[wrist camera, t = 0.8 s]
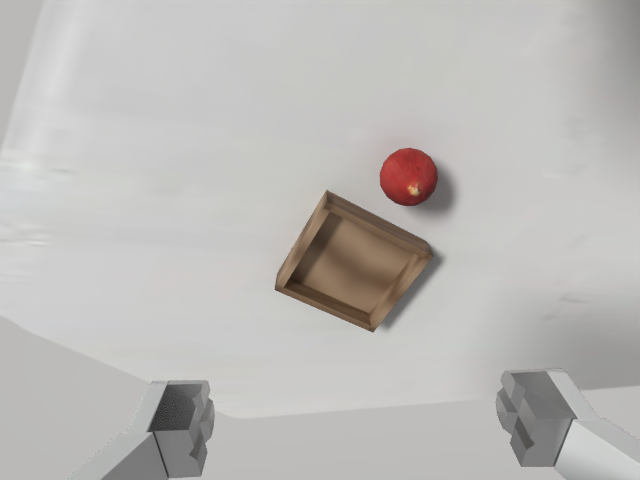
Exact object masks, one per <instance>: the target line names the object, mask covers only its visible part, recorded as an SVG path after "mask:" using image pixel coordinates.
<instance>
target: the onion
mask: <svg viewBox="0 0 640 480" xmlns="http://www.w3.org/2000/svg"><path fill="white" fill-rule="evenodd" d="M437 180H438V176H437V168H436V166H435V164H434V163H433V161H432V159H431V158H430V157H429V156H428V155H427V154H425V153H424V152H422V151H420V150H417V149H413V148H406V149H399V150H398V151H396V152H394V153H393V154H391V155H390V156H389V157H388V158H387V160H386V161H385V162H384V163H383V166H382V169H381V172H380V186H381V188H382V189H383V191H384V193H385V194H386V196H387V197H388V198H389V199H391V200H392V201H393V202H395V203H397V204H400V205H404V206H413V205H418V204H420V203H422V202H424V201H425V200H427V199H428V198H429V197H430V195H431V194H432V193H433V192H434V190H435V187H436V183H437Z"/></svg>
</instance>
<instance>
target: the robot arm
mask: <svg viewBox="0 0 640 480" xmlns="http://www.w3.org/2000/svg"><path fill="white" fill-rule="evenodd" d="M501 383H502V385H503V388H502V389H501V390H500V391H499V392H498V393H497V398H496V409H497V414H498V418H499V421H500V423H501V425H502V427H503V429H505V430H506V431H507V432H508V433H510V434H511V435H512V438H511V442H510V444H511V446H512V449H513V451H514V453H515V455H516V457H517V459H518V461H519V463H520V465H521V467H554V468H555V470H556V471H557V472H559V473H560V474H561V475H562V476H563V477H564V478H565V479H566V480H640V440H639V439H638V438H636V437H634V436H633V435H631V434H629V433H628V432H626V431H625V430H623V429H622V428H620V427H618V426H617V425H615V424H614V423H612V422H611V421H609V420H607V419H606V418H604V419H603V418H602V419H601V418H599V417H598V415H597V414H596V412H595V411H594V410H593V408H592V407H591V406H590V404H589V403H588V402H587V400H586V399H585V398H584V396H583V395H582V393H581V392H580V391H579V389H578V388H577V387H576V385H575V384H574V383H573V381H572V380H571V379H570V377H569V376H568V375H567V373H566V372H565V371H564V370H562V369H542V370H540V369H535V370H511V371H505V372H504V373H503V374H502V377H501ZM209 393H210V387H209V383H208V381H206V380H182V381H152V382H151V383H150V384H149V385H148V386H147V388H146V391H145V393H144V395H143V397H142V399H141V401H140V404H139V406H138V408H137V410H136V412H135V414H134V417H133V418H132V421H131V423H130V425H129V427H128V429H127V432H126V433H120V434H119V435H118V436H116V437H115V438H114V439H113V440H111V441H110V442H109V443H108V444H107V445H105V446H104V447H103V448H102V449H101V450H99V451H98V452H97V453H96V454H95V455H93V456H92V457H91V458H90V459H89V460H87V461H86V462H85V463H84V464H83V465H81V466H80V467H79V468H78V469H76V470H75V471H74V472H73V473H72V474H70V475H69V476H68V477H67V478H66V479H65V480H168V478H183V477H199V476H201V475H202V471H203V467H204V463H205V460H206V455H207V449H206V445H205V443H206V442H207V440H209V439H210V438H211V435H212V431H213V427H214V416H215V415H214V405H213V401H212V400H211V399H209V398H208V396H209Z"/></svg>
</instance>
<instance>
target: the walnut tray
mask: <svg viewBox="0 0 640 480" xmlns="http://www.w3.org/2000/svg"><path fill="white" fill-rule="evenodd" d="M432 257H433V254H432V252H431V250H430V248H429V246H428V244H427V242H426V241H425V240H423V239H421V238H419V237H417V236H415V235H413V234H411V233H409V232H407V231H405V230H403V229H401V228H399V227H397V226H395V225H394V224H392V223H390V222H388V221H386V220H384V219H382V218H380V217H378V216H376V215H374V214H372V213H370V212H368V211H366V210H364V209H362V208H360V207H358V206H357V205H355V204H353V203H351V202H349V201H347V200H345V199H343V198H341V197H339V196H337V195H335V194H333V193H331V192H329V191H327V190H326V192H325V194H324V195H323V197H322V199H321V200H320V202H319V204H318V205H317V207H316V209H315V211H314V212H313V214H312V216H311V217H310V219H309V221H308V222H307V224H306V226H305V227H304V229H303V231H302V233H301V234H300V236H299V238H298V239H297V241H296V243H295V244H294V246H293V248H292V250H291V251H290V253H289V255H288V256H287V258H286V260H285V261H284V263H283V265H282V266H281V268H280V270H279V272H278V273H277V278H276V284H275V290H276V291H279V292H281V293H283V294H285V295H288V296H290V297H292V298H295V299H297V300H299V301H302V302H304V303H306V304H309V305H311V306H313V307H315V308H318V309H320V310H322V311H325V312H327V313H329V314H332V315H334V316H336V317H338V318H341V319H343V320H345V321H348V322H350V323H352V324H355V325H357V326H359V327H362V328H364V329H366V330H368V331H371V332H374V331H375V330H376V328H377V327H378V326H379V324H380V323H381V322H382V321H383V319H384V318H385V317H386V316H387V314H388V313H389V312H390V310H391V309H392V308H393V307H394V305H395V304H396V303H397V302H398V300H399V299H400V298H401V296H402V295H403V294H404V293H405V291H406V290H407V289H408V288H409V286H410V285H411V284H412V283H413V281H414V280H415V279H416V277H417V276H418V275H419V274H420V272H421V271H422V270H423V269H424V267H425V266H426V265H427V263H428V262H429V261H430V260H431V258H432Z"/></svg>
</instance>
